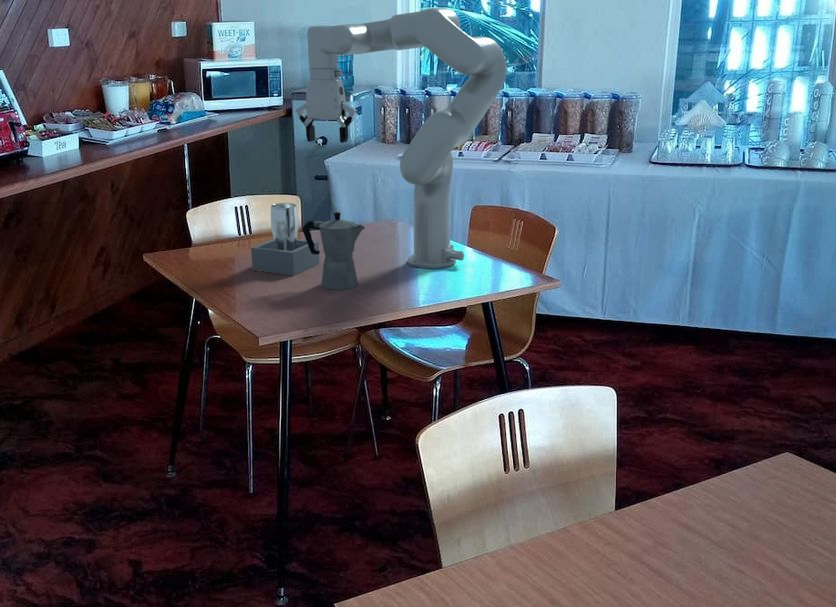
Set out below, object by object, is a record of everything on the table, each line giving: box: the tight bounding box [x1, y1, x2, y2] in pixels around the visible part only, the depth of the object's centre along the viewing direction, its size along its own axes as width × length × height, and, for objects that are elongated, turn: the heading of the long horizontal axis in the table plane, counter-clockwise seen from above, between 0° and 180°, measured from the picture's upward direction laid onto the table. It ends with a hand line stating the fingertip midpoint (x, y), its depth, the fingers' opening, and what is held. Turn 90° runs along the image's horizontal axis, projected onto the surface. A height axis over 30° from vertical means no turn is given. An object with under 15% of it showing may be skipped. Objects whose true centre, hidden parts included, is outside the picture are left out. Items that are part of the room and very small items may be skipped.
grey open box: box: [250, 238, 320, 277], centre depth 237 cm, size 12×12×6 cm
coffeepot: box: [302, 211, 366, 291], centre depth 220 cm, size 15×9×18 cm, turn 78°
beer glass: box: [270, 202, 299, 251], centre depth 236 cm, size 7×7×15 cm
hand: (327, 141), depth 243 cm, fingers open, 9 cm apart
